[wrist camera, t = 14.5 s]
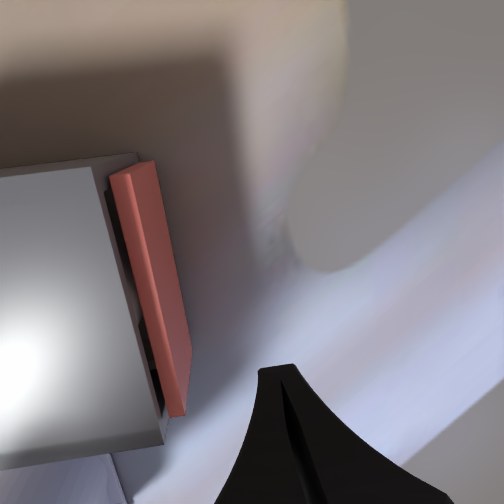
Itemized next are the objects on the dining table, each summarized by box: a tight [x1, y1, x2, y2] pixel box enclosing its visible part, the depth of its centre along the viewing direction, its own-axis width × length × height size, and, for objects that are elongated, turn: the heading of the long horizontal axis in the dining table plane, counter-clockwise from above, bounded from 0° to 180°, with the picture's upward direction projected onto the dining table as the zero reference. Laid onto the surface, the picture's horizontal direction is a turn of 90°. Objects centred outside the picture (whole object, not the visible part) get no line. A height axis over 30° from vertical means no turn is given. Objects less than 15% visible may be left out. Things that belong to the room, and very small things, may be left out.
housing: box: [0, 152, 169, 471], centre depth 18 cm, size 13×11×7 cm
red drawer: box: [103, 161, 193, 418], centre depth 18 cm, size 12×11×6 cm
